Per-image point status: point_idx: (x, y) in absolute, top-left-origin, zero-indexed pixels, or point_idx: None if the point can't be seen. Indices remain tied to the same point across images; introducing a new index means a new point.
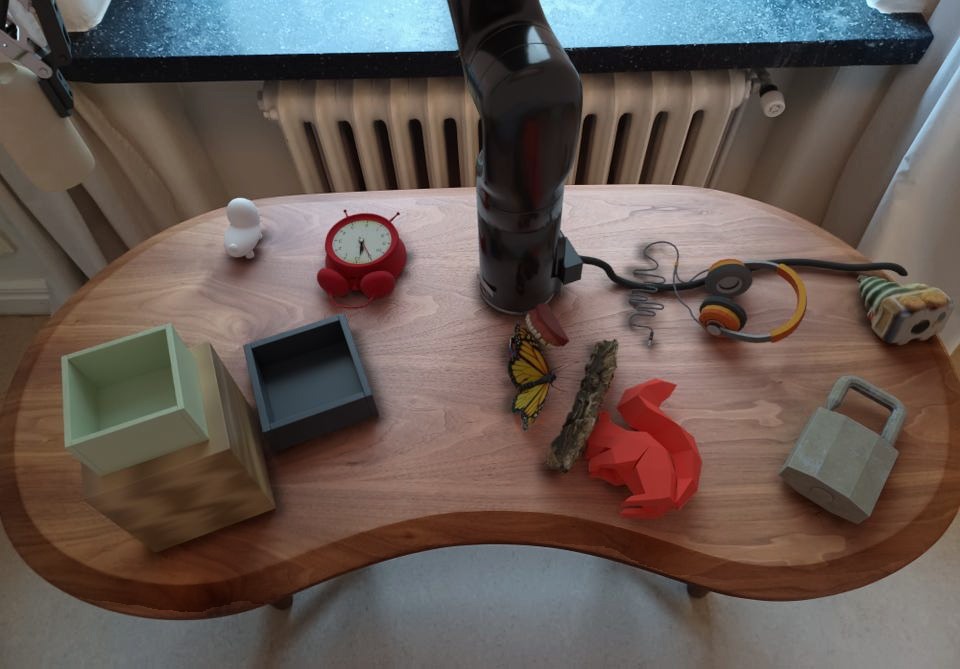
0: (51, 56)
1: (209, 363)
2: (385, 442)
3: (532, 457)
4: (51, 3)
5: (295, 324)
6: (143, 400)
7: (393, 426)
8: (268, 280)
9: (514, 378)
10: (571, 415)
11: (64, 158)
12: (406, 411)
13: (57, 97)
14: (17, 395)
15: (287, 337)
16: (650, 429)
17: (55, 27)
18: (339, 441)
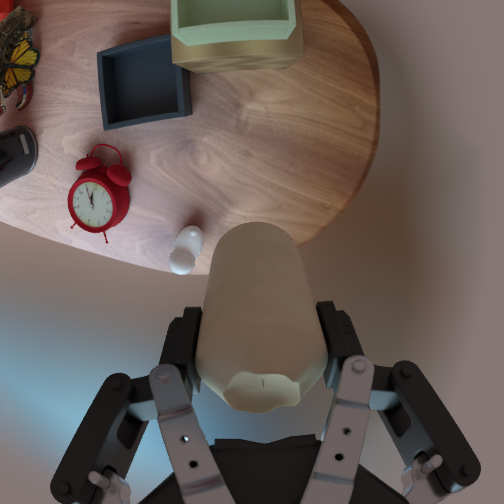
0: (138, 396)
1: (174, 38)
2: (112, 35)
3: (42, 25)
4: (57, 469)
5: (157, 148)
6: (237, 8)
7: (104, 46)
8: (175, 199)
9: (31, 74)
10: (9, 40)
11: (228, 251)
12: (94, 57)
13: (179, 332)
14: (373, 155)
15: (148, 116)
16: None
17: (84, 434)
18: (140, 39)
